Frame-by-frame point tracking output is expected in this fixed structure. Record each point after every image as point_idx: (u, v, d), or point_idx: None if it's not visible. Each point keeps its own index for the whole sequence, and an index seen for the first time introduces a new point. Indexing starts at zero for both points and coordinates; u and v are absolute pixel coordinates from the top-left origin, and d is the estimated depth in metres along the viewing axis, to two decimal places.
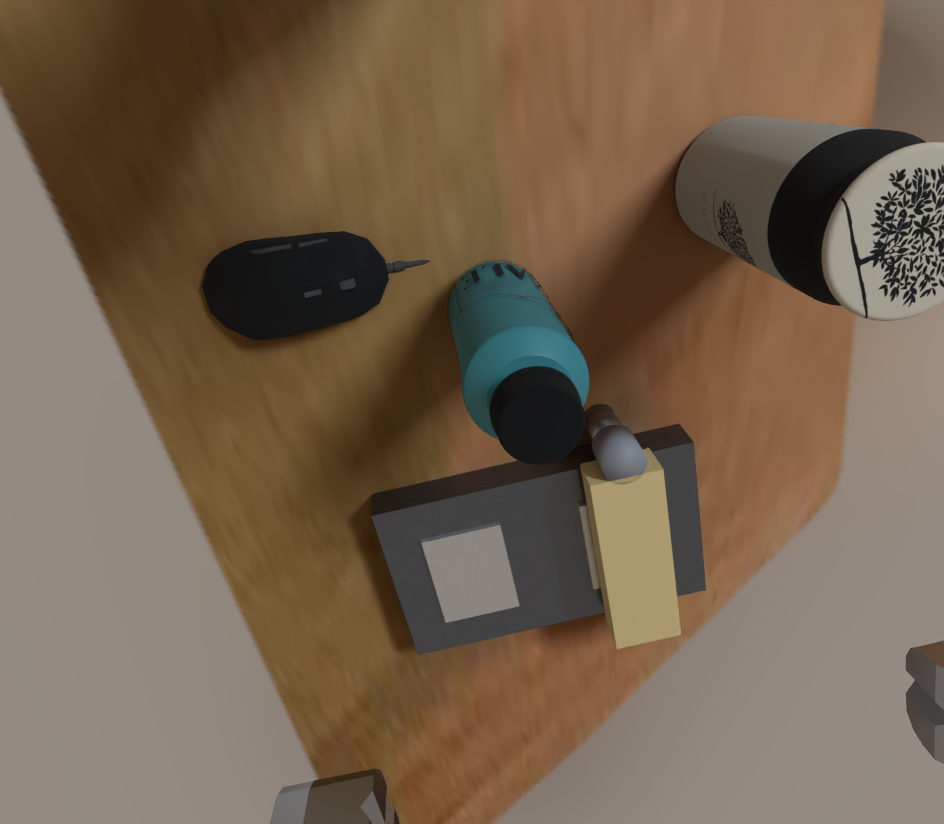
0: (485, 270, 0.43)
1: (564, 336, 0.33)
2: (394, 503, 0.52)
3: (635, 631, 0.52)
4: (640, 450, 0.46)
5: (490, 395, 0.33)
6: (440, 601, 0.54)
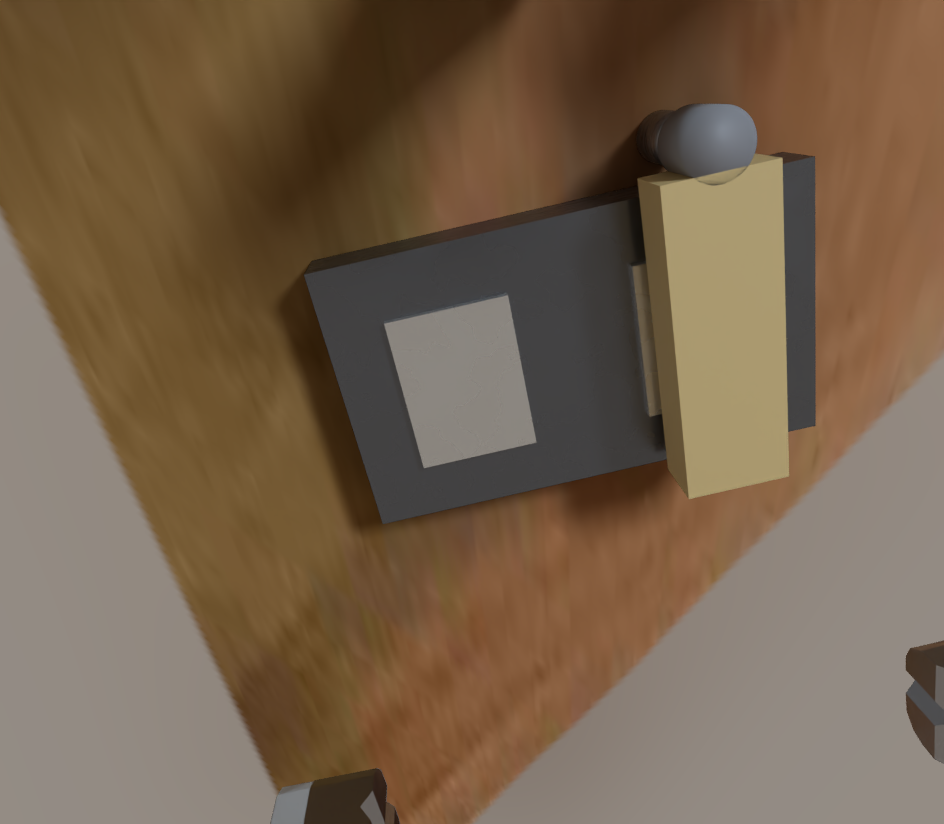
0: None
1: None
2: (341, 261, 0.33)
3: (719, 467, 0.34)
4: (747, 116, 0.27)
5: None
6: (415, 430, 0.35)
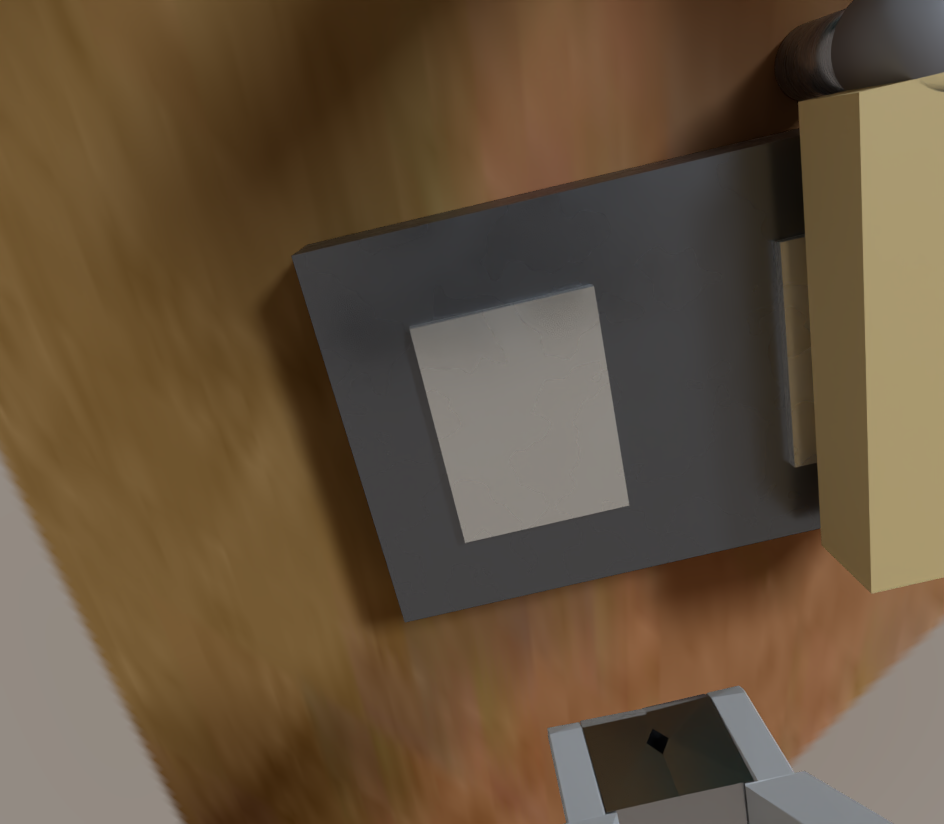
0: None
1: None
2: (348, 239, 0.23)
3: (921, 546, 0.22)
4: None
5: None
6: (453, 487, 0.24)
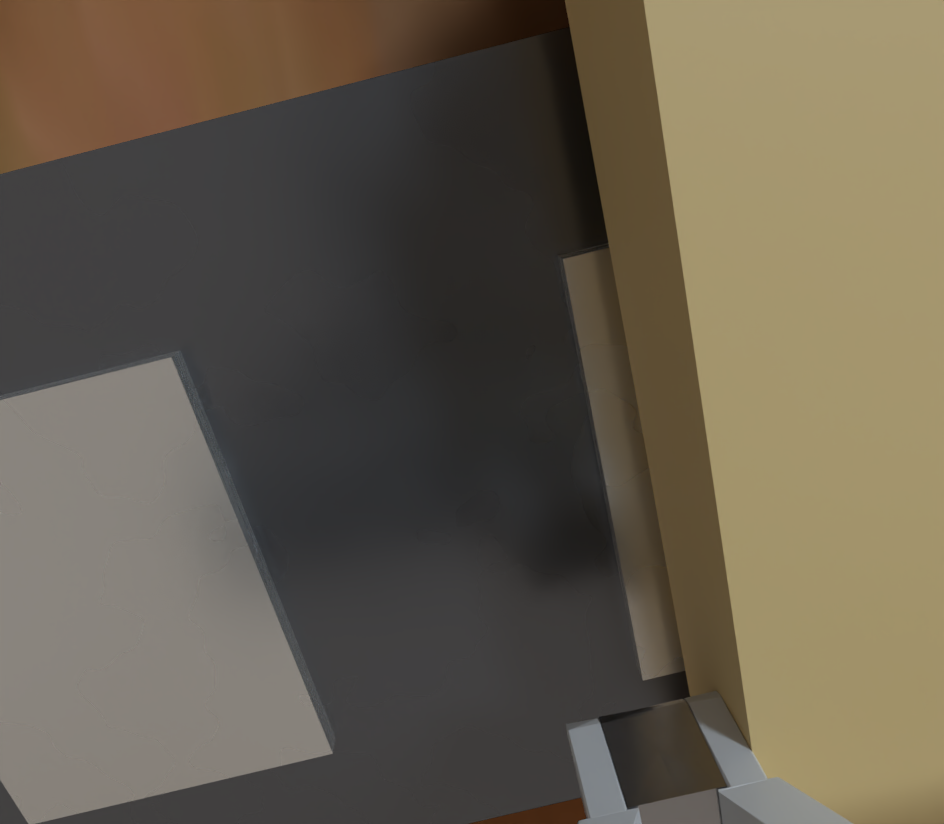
0: None
1: None
2: None
3: None
4: None
5: None
6: None
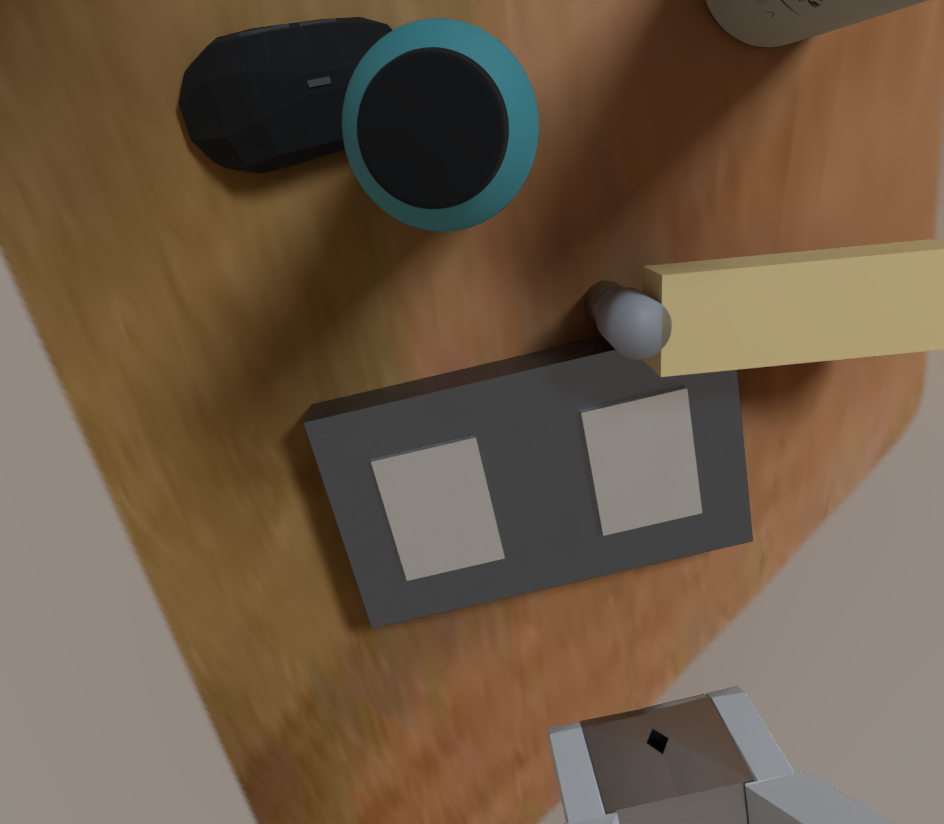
0: None
1: (480, 29, 0.21)
2: (336, 409, 0.39)
3: (935, 318, 0.34)
4: (623, 307, 0.33)
5: None
6: (399, 549, 0.41)
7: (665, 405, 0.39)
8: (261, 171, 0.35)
